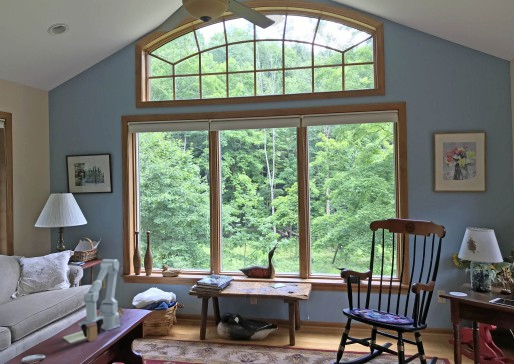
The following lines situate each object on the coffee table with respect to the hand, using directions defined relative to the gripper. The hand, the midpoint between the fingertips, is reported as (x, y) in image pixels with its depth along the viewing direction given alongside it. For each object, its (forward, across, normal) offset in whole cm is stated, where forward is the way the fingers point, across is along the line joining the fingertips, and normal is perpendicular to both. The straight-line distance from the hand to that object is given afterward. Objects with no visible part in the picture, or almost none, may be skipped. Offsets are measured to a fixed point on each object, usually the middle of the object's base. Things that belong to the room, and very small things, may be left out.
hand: (91, 334), depth 223 cm
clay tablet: (+3, +25, +27) cm, 37 cm away
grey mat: (+3, -4, +10) cm, 11 cm away
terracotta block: (+3, 0, 0) cm, 3 cm away
